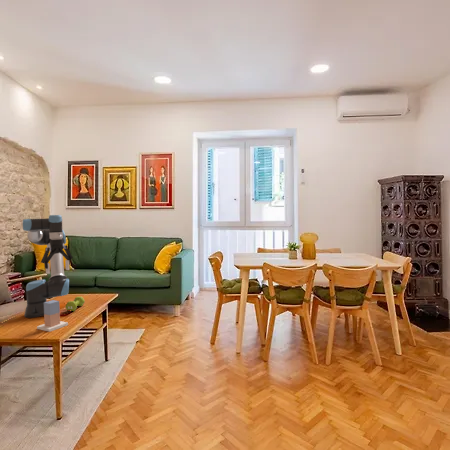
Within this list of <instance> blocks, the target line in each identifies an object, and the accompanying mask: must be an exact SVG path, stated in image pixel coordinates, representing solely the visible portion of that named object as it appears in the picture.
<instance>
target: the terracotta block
mask: <svg viewBox="0 0 450 450" xmlns="http://www.w3.org/2000/svg"><path fill="white" fill-rule="evenodd" d="M60 313H61V312H59V313H56V314H53V315H46V314H44V316H43V317H44V318H43V319H44V324H45V326H49V327H52V326H55V325H58V324H60V321H61V314H60Z"/></svg>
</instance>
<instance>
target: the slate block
mask: <svg viewBox="0 0 450 450" xmlns="http://www.w3.org/2000/svg"><path fill="white" fill-rule="evenodd" d="M60 310H61V309H60V300H54V299H52V300H49V301H46V302H44V314H46V315H53V314H56V313H59V312H60ZM60 313H61V312H60Z"/></svg>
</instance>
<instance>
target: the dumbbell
mask: <svg viewBox="0 0 450 450" xmlns="http://www.w3.org/2000/svg"><path fill="white" fill-rule="evenodd" d="M84 304H85V299H84V297H83V296H76V297H75V298H74V299H73V300H72V301H71V300H70V301H68V302H66V304H65V306H64V307H65V309H66V311H67V310H71V311H73V312H75V311H76V310H77V308H78V307H77V306H80V307H83V306H84ZM73 312H72V313H73Z"/></svg>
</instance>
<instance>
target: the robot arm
mask: <svg viewBox="0 0 450 450" xmlns="http://www.w3.org/2000/svg"><path fill="white" fill-rule="evenodd" d="M22 230H23V231H25V232H27V234H26V235H27V240H28V241H29V242H30V243H33V244H34V245H37V246H46V247H45V250H44V253H43V256H42V259H41V261H40V263H41V264H44V269H45V273H46V275H50V277H49V278H48V280H47V281H46V279H45V278H44V279H37V280H33V281H30V282H28V283H27V284H26V285H25V286H26V287H25V291H26V293H25V294H26V307H25V310H24V318H27V319H29V318H30V319H31V318H33V319H34V318H39V317H40V318H41V317H42V316H43V317H44V302H47V299H49V298H56V297H62V296H67V295H68V294H69V291H70V290H69V289H70V278H68V277H67V275H65V271H70V265H71V260H72V259H73V255H72V253H71V252H70V250H69V246H68V245H67V238H66V233H65V231H64V229H63V216H62V214H51V215H49V216H48V218H26V219H22ZM65 244H66V245H65ZM64 259H65V260H64ZM64 261H65V264H64ZM49 262H50V263H49ZM64 265H65V266H64Z"/></svg>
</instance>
